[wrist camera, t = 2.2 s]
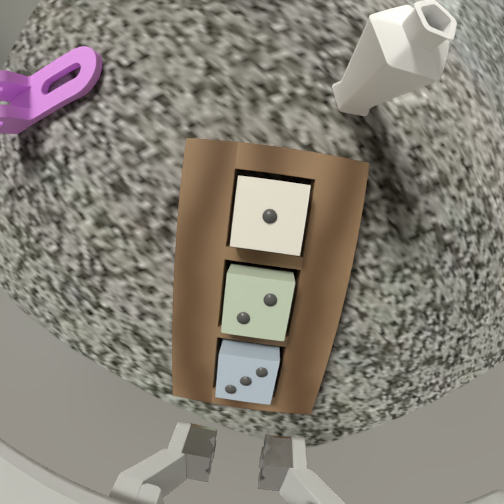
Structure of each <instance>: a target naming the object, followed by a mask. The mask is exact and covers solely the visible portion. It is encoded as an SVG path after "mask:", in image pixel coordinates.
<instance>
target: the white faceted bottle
mask: <svg viewBox="0 0 504 504" xmlns="http://www.w3.org/2000/svg"><path fill="white" fill-rule="evenodd" d="M414 7H415V9H414V8H413V7H411V6H409V5H404V6H400V7H396V8H392V9H388V10H385V11H381V12H378V13H375V14H372V15H370V17H369V19H368V22H367V24H366V26H365V28H364V31H363V33H362V35H361V37H360V40H359V42H358V44H357V46H356V49H355V51H354V53H353V56H352V58H351V60H350V62H349V64H348V67H347V69H346V71H345V73H344V76H343V78H342V80H341V81H339V82H337V83H335V84H333V85H332V88H333V92H334V95H335V99H336V102H337V106H338V109H339V111H340V112H344V113H349V114H355V115H360V116H367V115H368V113H369V110H370V108H371V107H373V106H376V105H378V104H381V103H383V102H385V101H388V100H390V99H393V98H395V97H398V96H400V95H403V94H405V93H408V92H410V91H413V90H415V89H418V88H421V87H423V86H426V85H428V84H431V83H434V82H437V81H439V80H440V79H441V77H442V73H443V69H444V66H445V62H446V58H447V54H448V49H449V42H448V40H453V39H454V35H455V30H456V25H457V23H456V20H455V19H454V18H453V16H452V15H450V14H449V13H448V12H447V11H446V10H445V9H444V8H443V7H442V6H441V5H440V4H439V3H438V2H436V1H435V0H425V1H420V2H416V3H414ZM447 39H448V40H447Z"/></svg>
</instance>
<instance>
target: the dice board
mask: <svg viewBox="0 0 504 504" xmlns="http://www.w3.org/2000/svg"><path fill="white" fill-rule="evenodd" d="M239 169H240V170H248V171H256V172H264V173H272V174H279V175H286V176H293V177H300V178H306V179H311V184H310V185H311V187H310V194H309V201H308V208H307V215H306V221H305V227H304V234H303V240H302V246H301V252H300V256H297V255H290V254H283V253H275V252H268V251H261V250H254V249H246V248H239V247H232V246H230V237H231V228H232V219H233V211H234V202H235V194H236V186H237V178H238V170H239ZM368 170H369V163H367V162H362V161H357V160H352V159H347V158H342V157H337V156H332V155H326V154H321V153H315V152H309V151H303V150H296V149H289V148H282V147H275V146H268V145H259V144H251V143H242V142H232V141H221V140H209V139H194V138H186V144H185V152H184V161H183V169H182V178H181V188H180V198H179V209H178V221H177V234H176V249H175V266H174V288H173V324H172V375H173V395H174V396H179V397H183V398H188V399H193V400H198V401H203V402H208V403H214V404H220V405H226V406H232V407H239V408H246V409H254V410H262V411H272V412H282V413H294V414H309V415H311V412H312V409H313V406H314V403H315V400H316V397H317V394H318V391H319V388H320V385H321V382H322V379H323V376H324V372H325V369H326V366H327V362H328V359H329V356H330V352H331V349H332V345H333V342H334V338H335V334H336V331H337V327H338V323H339V319H340V315H341V311H342V307H343V303H344V299H345V295H346V291H347V287H348V282H349V278H350V273H351V269H352V264H353V259H354V254H355V249H356V244H357V239H358V233H359V228H360V222H361V217H362V211H363V205H364V198H365V192H366V185H367V178H368ZM228 260H233V261H240V262H247V263H255V264H262V265H269V266H276V267H284V268H291V269H297V273H296V279H295V287H294V292H293V298H292V303H291V308H290V313H289V319H288V324H287V329H286V334H285V339H284V341H277V340H269V339H261V338H254V337H247V336H240V335H233V334H227V333H221V326H222V316H223V315H222V313H223V303H224V293H225V283H226V274H227V264H228ZM220 338H226V339H232V340H239V341H246V342H253V343H260V344H268V345H276V346H283V347H282V352H281V356H280V363H279V368H278V372H277V377H276V381H275V386H274V390H273V395H272V399H271V403H270V405H268V404H260V403H252V402H244V401H237V400H230V399H224V398H218V397H215V394H216V382H217V367H218V355H219V344H220Z"/></svg>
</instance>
